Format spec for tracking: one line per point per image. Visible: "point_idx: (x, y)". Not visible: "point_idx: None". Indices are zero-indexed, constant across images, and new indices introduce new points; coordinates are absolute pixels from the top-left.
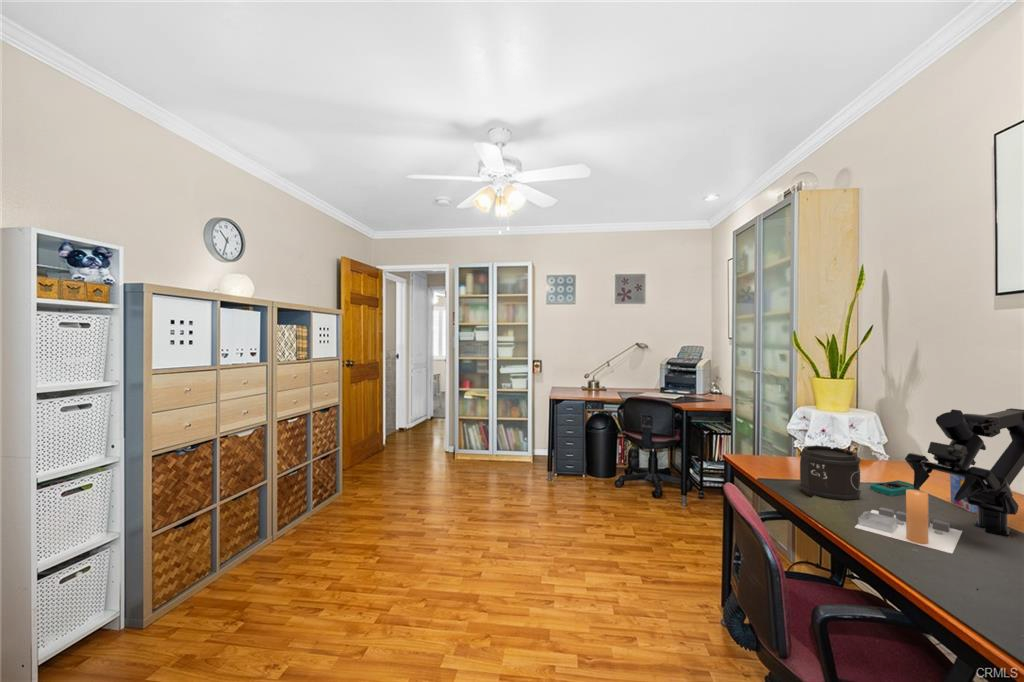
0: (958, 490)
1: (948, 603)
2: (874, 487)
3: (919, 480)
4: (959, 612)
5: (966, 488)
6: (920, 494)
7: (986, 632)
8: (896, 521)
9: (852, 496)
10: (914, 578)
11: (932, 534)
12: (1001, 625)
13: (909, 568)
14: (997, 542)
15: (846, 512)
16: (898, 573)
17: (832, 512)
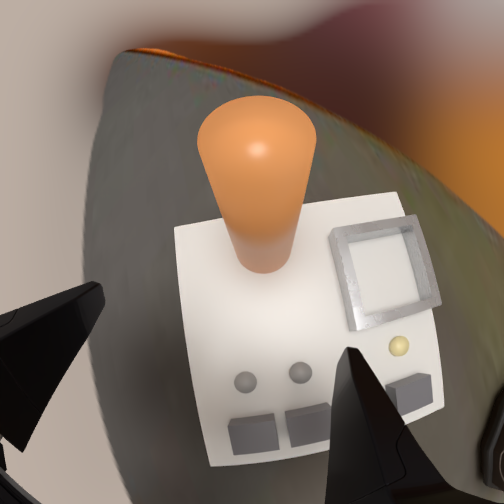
0: (51, 307)
1: (161, 68)
2: None
3: (352, 423)
4: (151, 63)
5: (8, 313)
6: (226, 108)
7: (131, 57)
8: (350, 300)
9: (497, 425)
10: (208, 85)
11: (254, 350)
12: (117, 76)
13: None
14: (145, 469)
15: (472, 334)
16: (230, 81)
17: (484, 294)
